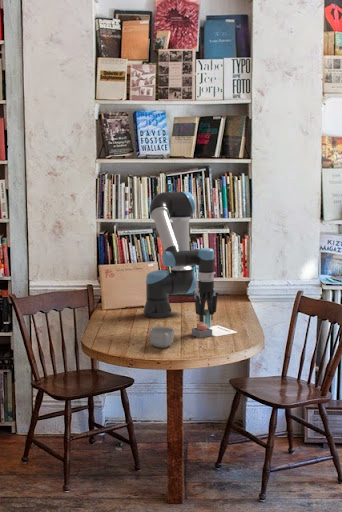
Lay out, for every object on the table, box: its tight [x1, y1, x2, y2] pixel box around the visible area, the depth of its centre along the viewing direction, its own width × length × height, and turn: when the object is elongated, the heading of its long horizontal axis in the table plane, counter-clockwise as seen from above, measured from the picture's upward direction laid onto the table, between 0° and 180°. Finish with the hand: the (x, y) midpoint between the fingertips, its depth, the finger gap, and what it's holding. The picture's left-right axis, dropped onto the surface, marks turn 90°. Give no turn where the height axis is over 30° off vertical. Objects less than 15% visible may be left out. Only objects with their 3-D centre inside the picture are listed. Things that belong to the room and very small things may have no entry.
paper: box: [209, 324, 239, 338], centre depth 360 cm, size 16×13×1 cm
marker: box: [204, 308, 210, 328], centre depth 360 cm, size 3×3×10 cm
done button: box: [196, 323, 207, 331], centre depth 352 cm, size 5×5×3 cm
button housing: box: [191, 327, 213, 339], centre depth 353 cm, size 7×7×3 cm
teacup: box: [149, 326, 175, 349], centre depth 333 cm, size 14×11×8 cm
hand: (205, 327), depth 361 cm, fingers closed on marker, 3 cm apart
